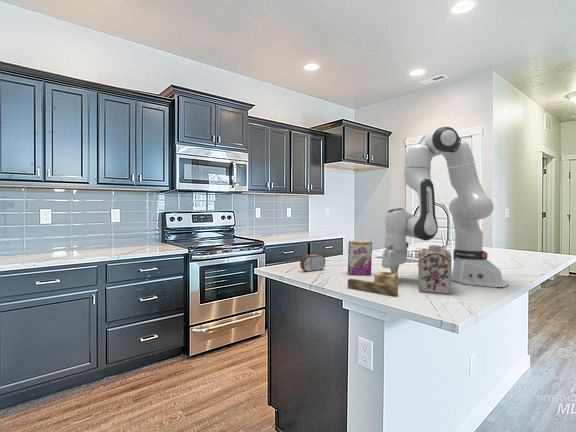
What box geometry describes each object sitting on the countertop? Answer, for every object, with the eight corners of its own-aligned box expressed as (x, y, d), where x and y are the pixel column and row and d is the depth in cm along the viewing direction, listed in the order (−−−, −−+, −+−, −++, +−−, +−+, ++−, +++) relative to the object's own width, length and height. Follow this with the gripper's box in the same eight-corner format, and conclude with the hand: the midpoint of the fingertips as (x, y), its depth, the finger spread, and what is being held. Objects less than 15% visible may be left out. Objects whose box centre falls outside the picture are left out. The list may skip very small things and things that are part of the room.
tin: (322, 268, 179) (322, 253, 179) (326, 269, 177) (326, 253, 177) (299, 271, 171) (299, 255, 171) (303, 273, 168) (303, 256, 168)
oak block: (397, 284, 146) (397, 273, 146) (393, 288, 139) (393, 276, 139) (378, 282, 150) (379, 271, 150) (374, 286, 143) (374, 274, 143)
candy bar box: (348, 275, 164) (348, 241, 164) (347, 272, 169) (348, 240, 169) (371, 275, 163) (372, 241, 163) (370, 273, 168) (370, 240, 168)
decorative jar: (448, 288, 140) (449, 244, 140) (451, 295, 129) (452, 248, 129) (417, 285, 144) (418, 243, 144) (418, 292, 134) (419, 246, 133)
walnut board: (397, 295, 128) (398, 286, 128) (395, 296, 126) (395, 287, 126) (350, 286, 141) (350, 278, 141) (347, 287, 139) (347, 279, 139)
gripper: (392, 247, 141) (392, 280, 142) (409, 243, 157) (409, 272, 158) (378, 246, 145) (377, 278, 146) (396, 242, 161) (395, 271, 161)
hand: (394, 275), depth 152 cm, fingers closed
